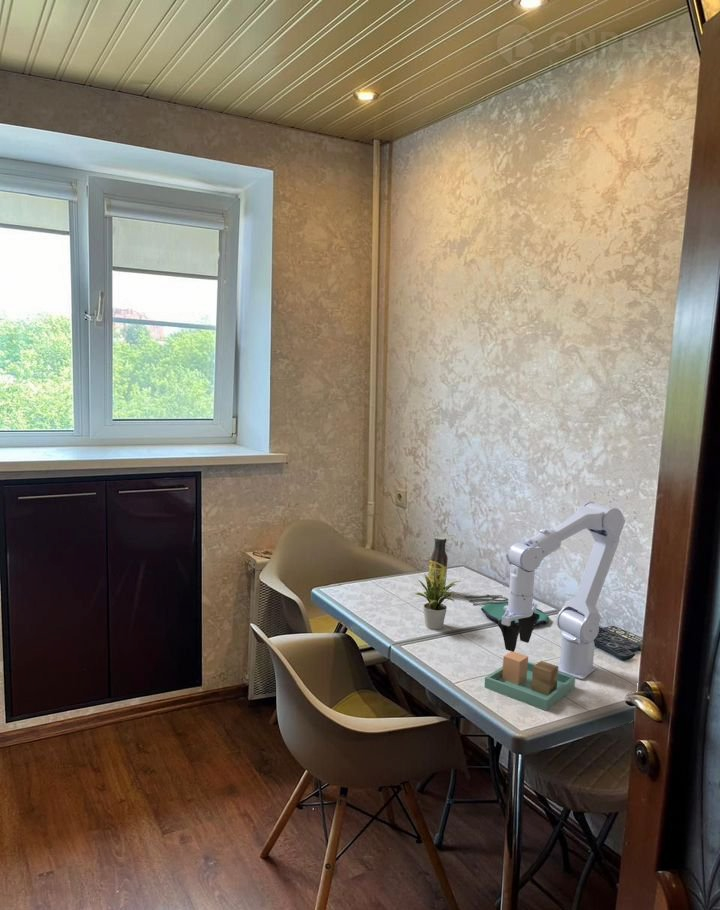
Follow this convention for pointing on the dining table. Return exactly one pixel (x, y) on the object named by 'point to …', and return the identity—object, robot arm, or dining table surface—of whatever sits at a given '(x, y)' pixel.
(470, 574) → the dining table surface
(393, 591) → the dining table surface
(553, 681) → the walnut block
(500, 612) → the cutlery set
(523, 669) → the terracotta block
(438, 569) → the sauce bottle
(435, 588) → the house plant
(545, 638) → the dining table surface
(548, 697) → the tray
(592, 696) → the dining table surface
